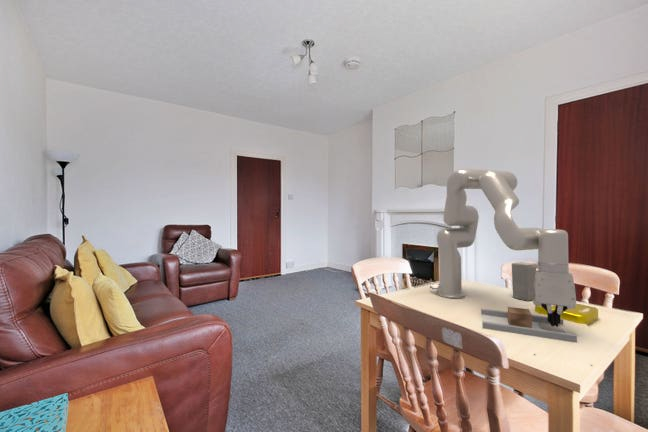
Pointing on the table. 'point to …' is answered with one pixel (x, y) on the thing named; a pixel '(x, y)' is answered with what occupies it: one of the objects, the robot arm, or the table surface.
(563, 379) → the table surface
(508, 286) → the table surface
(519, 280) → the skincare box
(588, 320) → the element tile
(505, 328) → the grey rail tray
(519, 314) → the walnut block
